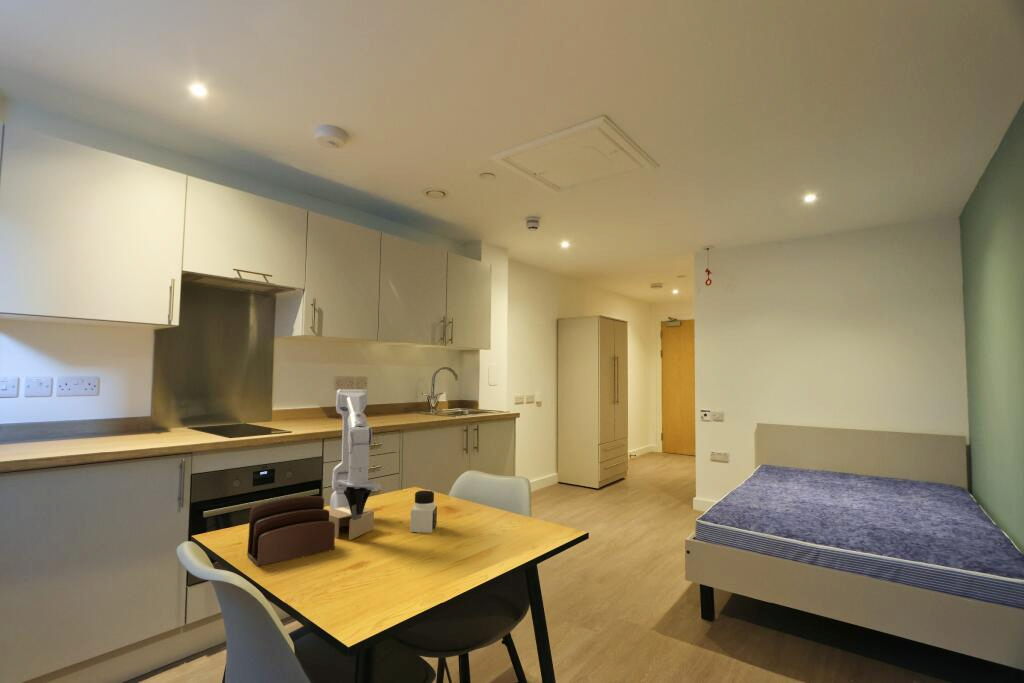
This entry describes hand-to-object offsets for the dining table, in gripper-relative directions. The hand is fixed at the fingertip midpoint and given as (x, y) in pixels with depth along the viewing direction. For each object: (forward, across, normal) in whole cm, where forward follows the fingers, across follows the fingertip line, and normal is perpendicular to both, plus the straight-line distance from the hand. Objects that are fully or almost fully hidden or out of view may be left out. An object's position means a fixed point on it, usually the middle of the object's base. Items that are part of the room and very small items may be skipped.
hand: (356, 513), depth 146 cm
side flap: (+7, 0, +3) cm, 8 cm away
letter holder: (+8, -9, -16) cm, 20 cm away
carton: (+7, -8, +6) cm, 12 cm away
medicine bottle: (+8, +14, +16) cm, 22 cm away
